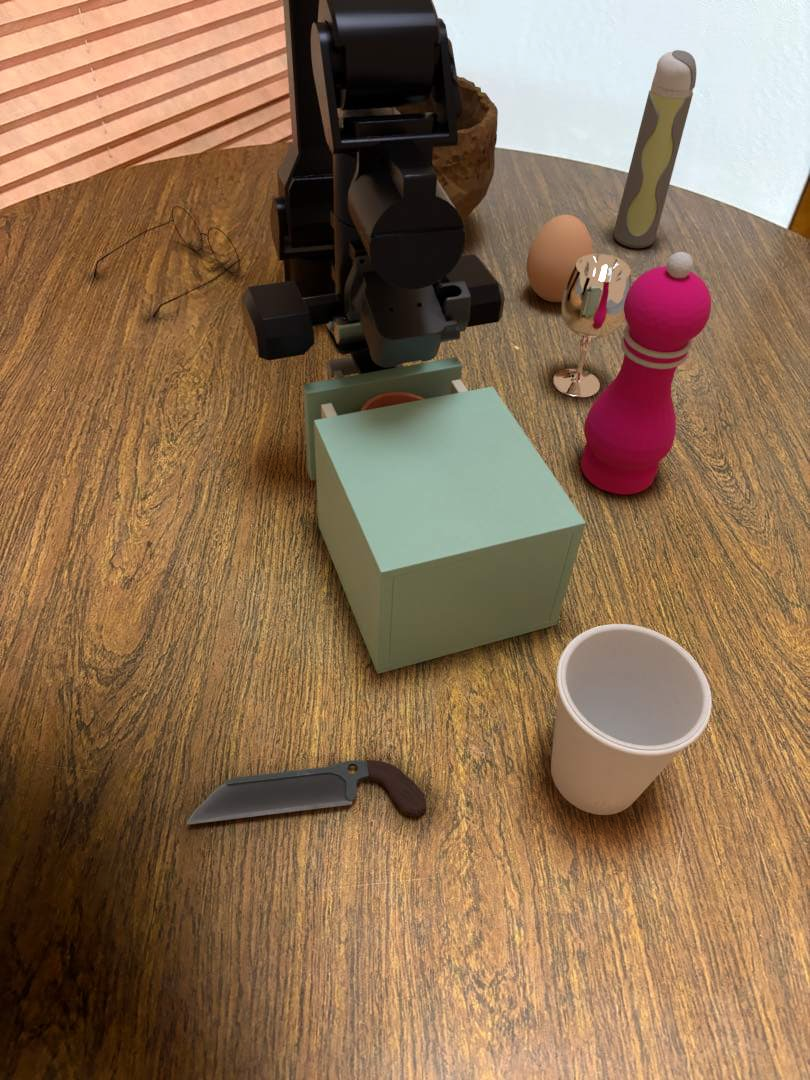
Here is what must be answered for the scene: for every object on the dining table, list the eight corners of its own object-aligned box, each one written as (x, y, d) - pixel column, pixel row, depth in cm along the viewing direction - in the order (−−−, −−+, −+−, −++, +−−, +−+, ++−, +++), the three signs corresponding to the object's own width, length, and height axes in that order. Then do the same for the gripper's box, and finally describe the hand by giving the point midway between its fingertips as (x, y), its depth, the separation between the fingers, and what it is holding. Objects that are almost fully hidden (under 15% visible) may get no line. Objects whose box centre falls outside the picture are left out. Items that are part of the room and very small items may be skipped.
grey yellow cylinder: (613, 227, 103) (656, 43, 88) (654, 233, 102) (704, 48, 88) (611, 247, 99) (656, 59, 85) (653, 253, 99) (706, 64, 84)
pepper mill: (664, 454, 75) (741, 240, 60) (653, 509, 70) (733, 290, 55) (583, 434, 76) (638, 219, 62) (566, 486, 71) (622, 267, 57)
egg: (582, 285, 93) (600, 204, 87) (585, 318, 89) (604, 236, 82) (521, 279, 94) (534, 198, 87) (521, 312, 89) (534, 229, 82)
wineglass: (605, 406, 79) (636, 290, 70) (543, 396, 80) (566, 280, 71) (608, 370, 83) (638, 255, 74) (548, 361, 84) (571, 246, 75)
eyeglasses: (158, 323, 85) (150, 277, 81) (87, 273, 91) (76, 228, 87) (247, 282, 91) (243, 238, 87) (175, 238, 96) (168, 195, 93)
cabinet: (318, 525, 67) (313, 419, 59) (477, 490, 71) (493, 385, 63) (377, 674, 58) (380, 572, 50) (557, 625, 62) (586, 522, 54)
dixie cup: (665, 848, 51) (718, 766, 43) (524, 822, 51) (553, 736, 44) (661, 726, 56) (708, 635, 49) (534, 704, 57) (561, 610, 50)
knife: (416, 757, 54) (417, 751, 53) (427, 817, 51) (428, 812, 51) (188, 783, 52) (186, 778, 51) (187, 847, 49) (185, 842, 49)
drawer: (291, 434, 73) (285, 346, 67) (427, 407, 76) (434, 322, 70) (357, 593, 62) (357, 506, 55) (514, 554, 65) (531, 468, 58)
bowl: (388, 179, 109) (392, 50, 98) (515, 227, 102) (535, 93, 91) (290, 235, 98) (282, 97, 87) (424, 292, 91) (434, 150, 80)
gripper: (268, 292, 50) (284, 486, 62) (553, 250, 55) (519, 437, 67) (229, 207, 57) (250, 394, 69) (484, 176, 62) (464, 356, 74)
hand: (372, 397), depth 69 cm, fingers closed, pressing on drawer
